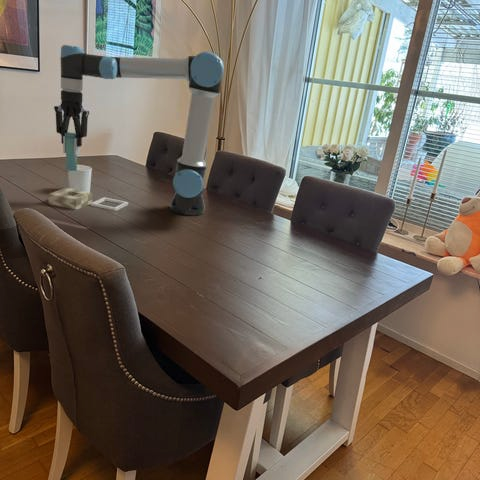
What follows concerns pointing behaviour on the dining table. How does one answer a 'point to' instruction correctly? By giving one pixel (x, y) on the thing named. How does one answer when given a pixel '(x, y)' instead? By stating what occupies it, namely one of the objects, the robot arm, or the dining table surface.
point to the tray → (96, 204)
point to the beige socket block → (70, 198)
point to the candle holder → (80, 178)
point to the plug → (70, 152)
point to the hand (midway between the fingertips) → (71, 153)
